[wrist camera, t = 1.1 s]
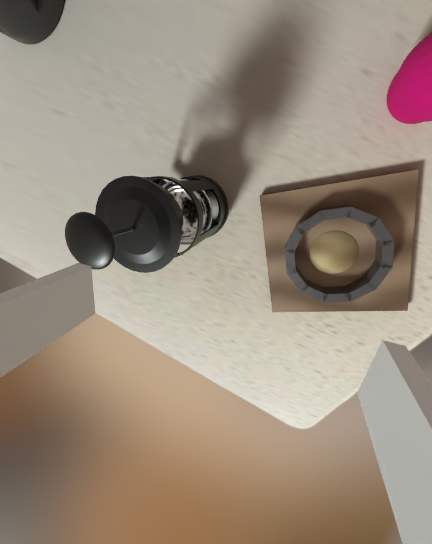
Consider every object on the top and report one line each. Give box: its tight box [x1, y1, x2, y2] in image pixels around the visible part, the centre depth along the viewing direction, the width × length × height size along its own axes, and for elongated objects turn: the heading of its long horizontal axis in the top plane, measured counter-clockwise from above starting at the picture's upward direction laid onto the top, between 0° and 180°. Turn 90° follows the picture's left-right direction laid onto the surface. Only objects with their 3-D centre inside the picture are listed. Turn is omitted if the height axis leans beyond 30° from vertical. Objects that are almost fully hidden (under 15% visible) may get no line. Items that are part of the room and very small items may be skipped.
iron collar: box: [285, 205, 395, 302], centre depth 32 cm, size 12×12×2 cm
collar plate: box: [260, 169, 419, 312], centre depth 34 cm, size 18×18×1 cm
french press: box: [65, 175, 228, 273], centre depth 27 cm, size 12×9×23 cm
